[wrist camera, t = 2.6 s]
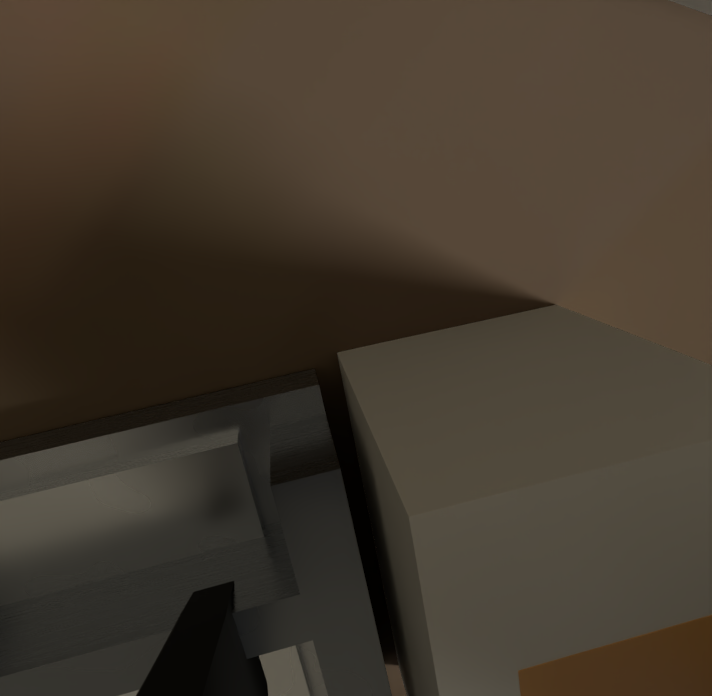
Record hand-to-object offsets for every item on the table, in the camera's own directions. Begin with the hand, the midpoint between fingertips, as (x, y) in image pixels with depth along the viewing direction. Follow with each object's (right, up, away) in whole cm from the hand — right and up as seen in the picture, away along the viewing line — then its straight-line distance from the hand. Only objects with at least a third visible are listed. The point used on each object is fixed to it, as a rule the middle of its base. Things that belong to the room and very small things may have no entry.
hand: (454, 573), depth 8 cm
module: (+1, +1, +2) cm, 2 cm away
